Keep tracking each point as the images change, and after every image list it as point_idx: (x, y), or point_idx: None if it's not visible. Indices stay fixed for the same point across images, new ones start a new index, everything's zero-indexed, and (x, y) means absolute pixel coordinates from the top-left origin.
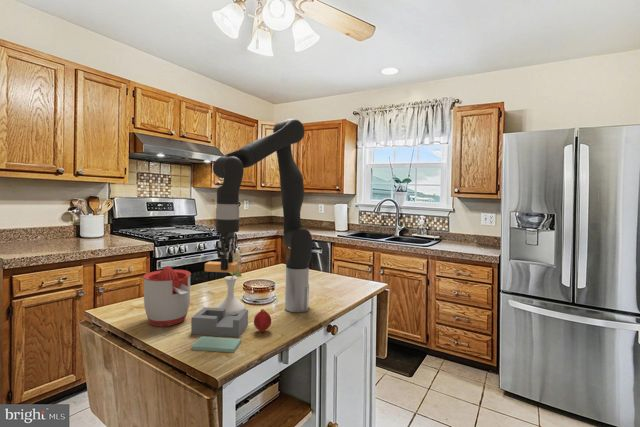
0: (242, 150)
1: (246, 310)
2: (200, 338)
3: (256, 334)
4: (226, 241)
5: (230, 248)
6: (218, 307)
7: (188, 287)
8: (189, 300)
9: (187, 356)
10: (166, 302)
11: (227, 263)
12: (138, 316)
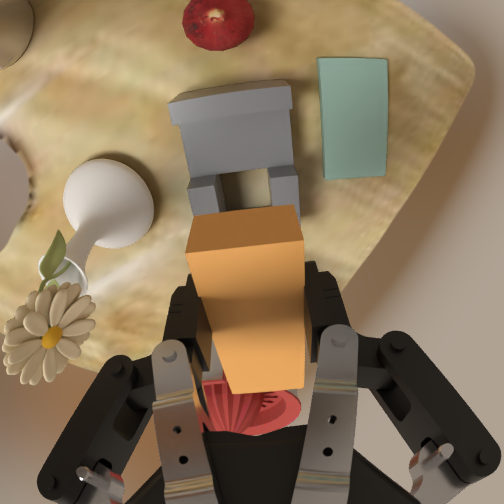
0: None
1: (178, 105)
2: (338, 176)
3: None
4: (401, 495)
5: (317, 416)
6: (138, 234)
7: (213, 345)
8: None
9: (412, 164)
10: None
11: (322, 295)
12: None
